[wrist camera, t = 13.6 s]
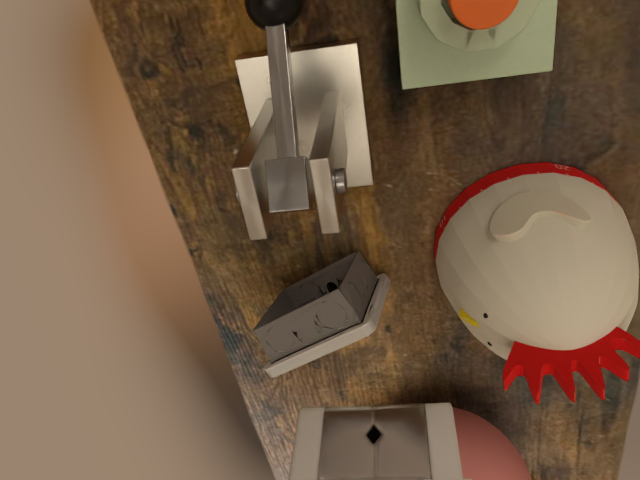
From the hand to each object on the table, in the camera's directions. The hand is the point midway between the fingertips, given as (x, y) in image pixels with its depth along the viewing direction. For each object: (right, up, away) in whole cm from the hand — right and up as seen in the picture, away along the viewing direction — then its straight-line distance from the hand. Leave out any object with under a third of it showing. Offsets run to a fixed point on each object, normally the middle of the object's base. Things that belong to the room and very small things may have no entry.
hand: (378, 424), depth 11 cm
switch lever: (-3, +12, +20) cm, 24 cm away
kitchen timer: (+15, +4, +31) cm, 35 cm away
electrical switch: (-1, +1, +35) cm, 35 cm away
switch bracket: (-2, +12, +27) cm, 30 cm away
